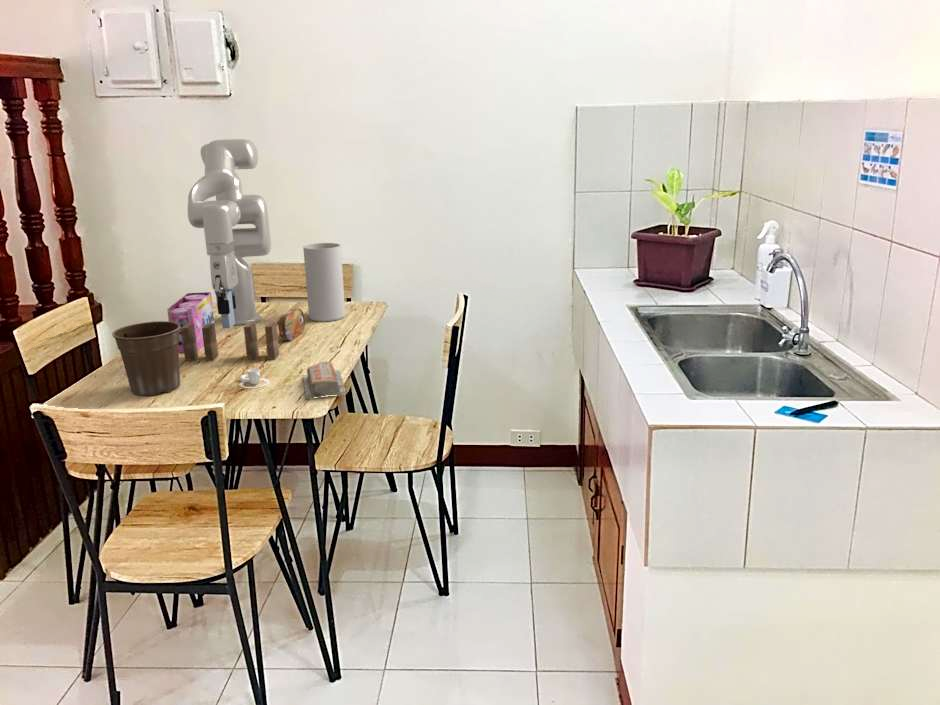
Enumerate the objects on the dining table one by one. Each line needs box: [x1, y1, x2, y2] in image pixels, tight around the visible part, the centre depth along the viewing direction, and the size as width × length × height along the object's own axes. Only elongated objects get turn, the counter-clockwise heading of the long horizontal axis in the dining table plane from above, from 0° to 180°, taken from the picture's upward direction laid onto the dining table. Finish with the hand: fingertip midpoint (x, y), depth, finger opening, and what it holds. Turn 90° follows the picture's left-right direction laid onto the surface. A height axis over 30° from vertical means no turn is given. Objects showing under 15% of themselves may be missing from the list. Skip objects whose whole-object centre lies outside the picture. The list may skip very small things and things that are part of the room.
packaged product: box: [302, 361, 347, 399], centre depth 206 cm, size 18×5×10 cm
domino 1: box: [181, 323, 199, 363], centre depth 230 cm, size 2×6×10 cm, turn 0°
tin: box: [277, 308, 306, 341], centre depth 251 cm, size 15×3×8 cm, turn 168°
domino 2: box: [202, 322, 219, 362], centre depth 230 cm, size 2×6×10 cm, turn 0°
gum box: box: [167, 291, 217, 353], centre depth 246 cm, size 24×8×14 cm, turn 3°
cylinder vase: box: [302, 242, 346, 322], centre depth 272 cm, size 12×12×25 cm
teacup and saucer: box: [238, 368, 271, 389], centre depth 209 cm, size 9×8×4 cm
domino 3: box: [220, 290, 235, 329], centre depth 227 cm, size 2×6×10 cm, turn 0°
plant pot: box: [111, 320, 181, 397], centre depth 205 cm, size 16×16×16 cm
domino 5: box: [264, 321, 280, 361], centre depth 230 cm, size 2×6×10 cm, turn 0°
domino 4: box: [243, 322, 260, 361], centre depth 230 cm, size 2×6×10 cm, turn 0°
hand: (227, 310), depth 227 cm, fingers closed on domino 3, 5 cm apart
